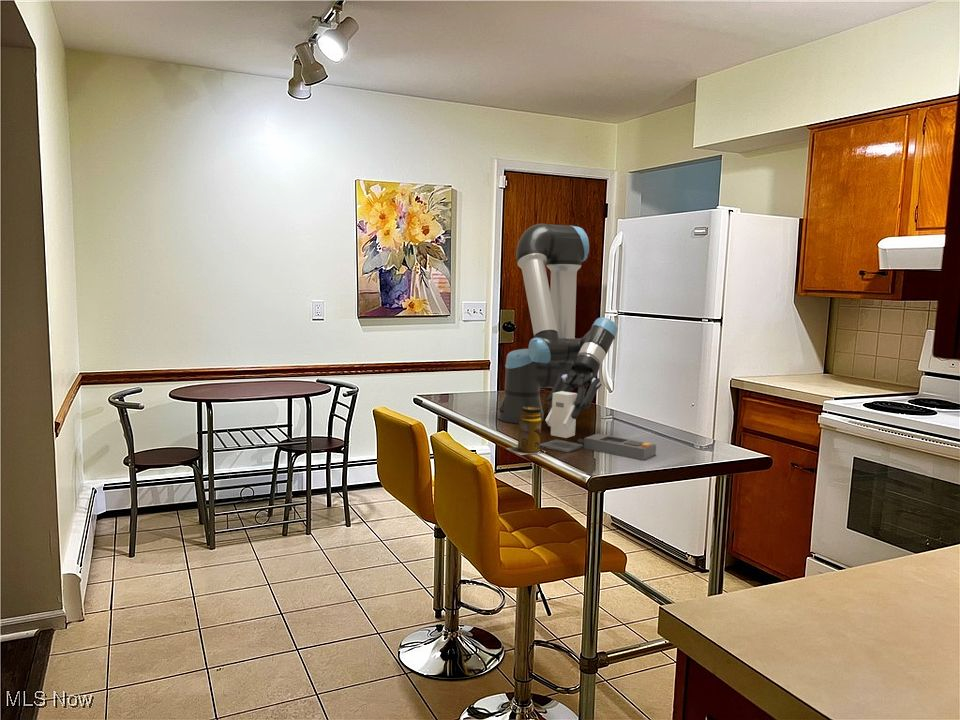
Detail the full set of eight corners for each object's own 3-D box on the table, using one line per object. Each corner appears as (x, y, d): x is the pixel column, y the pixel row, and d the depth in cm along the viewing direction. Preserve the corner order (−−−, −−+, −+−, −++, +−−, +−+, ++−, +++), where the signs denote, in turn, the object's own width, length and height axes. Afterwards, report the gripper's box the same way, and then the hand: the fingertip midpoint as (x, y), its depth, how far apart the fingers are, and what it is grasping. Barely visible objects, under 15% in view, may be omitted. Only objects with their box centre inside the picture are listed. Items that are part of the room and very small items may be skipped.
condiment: (546, 452, 195) (548, 409, 194) (521, 455, 191) (523, 411, 189) (529, 446, 201) (532, 404, 200) (505, 449, 197) (507, 406, 195)
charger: (559, 432, 205) (561, 391, 204) (574, 435, 202) (577, 393, 201) (550, 435, 201) (552, 393, 199) (565, 438, 198) (568, 395, 197)
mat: (555, 441, 209) (555, 439, 209) (583, 446, 203) (583, 444, 203) (539, 446, 202) (539, 444, 201) (567, 452, 196) (567, 450, 196)
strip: (571, 445, 204) (572, 433, 204) (584, 441, 210) (585, 429, 210) (643, 460, 191) (644, 447, 191) (655, 454, 198) (656, 442, 197)
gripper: (620, 373, 207) (589, 438, 195) (565, 367, 217) (533, 427, 206) (612, 356, 202) (581, 421, 190) (557, 350, 212) (524, 412, 201)
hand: (556, 424), depth 198 cm, fingers closed on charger, 5 cm apart
